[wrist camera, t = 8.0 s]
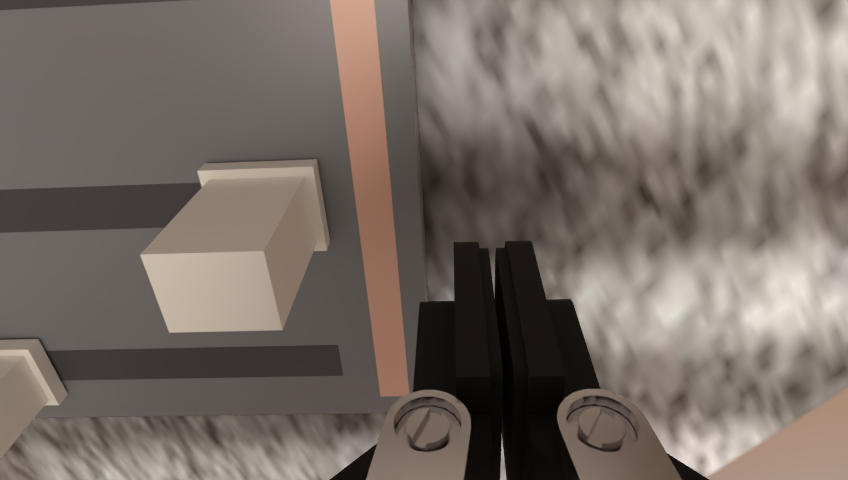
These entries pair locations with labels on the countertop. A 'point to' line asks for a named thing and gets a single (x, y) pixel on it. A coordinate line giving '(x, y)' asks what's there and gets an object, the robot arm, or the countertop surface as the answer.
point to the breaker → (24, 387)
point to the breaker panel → (178, 182)
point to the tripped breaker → (239, 247)
